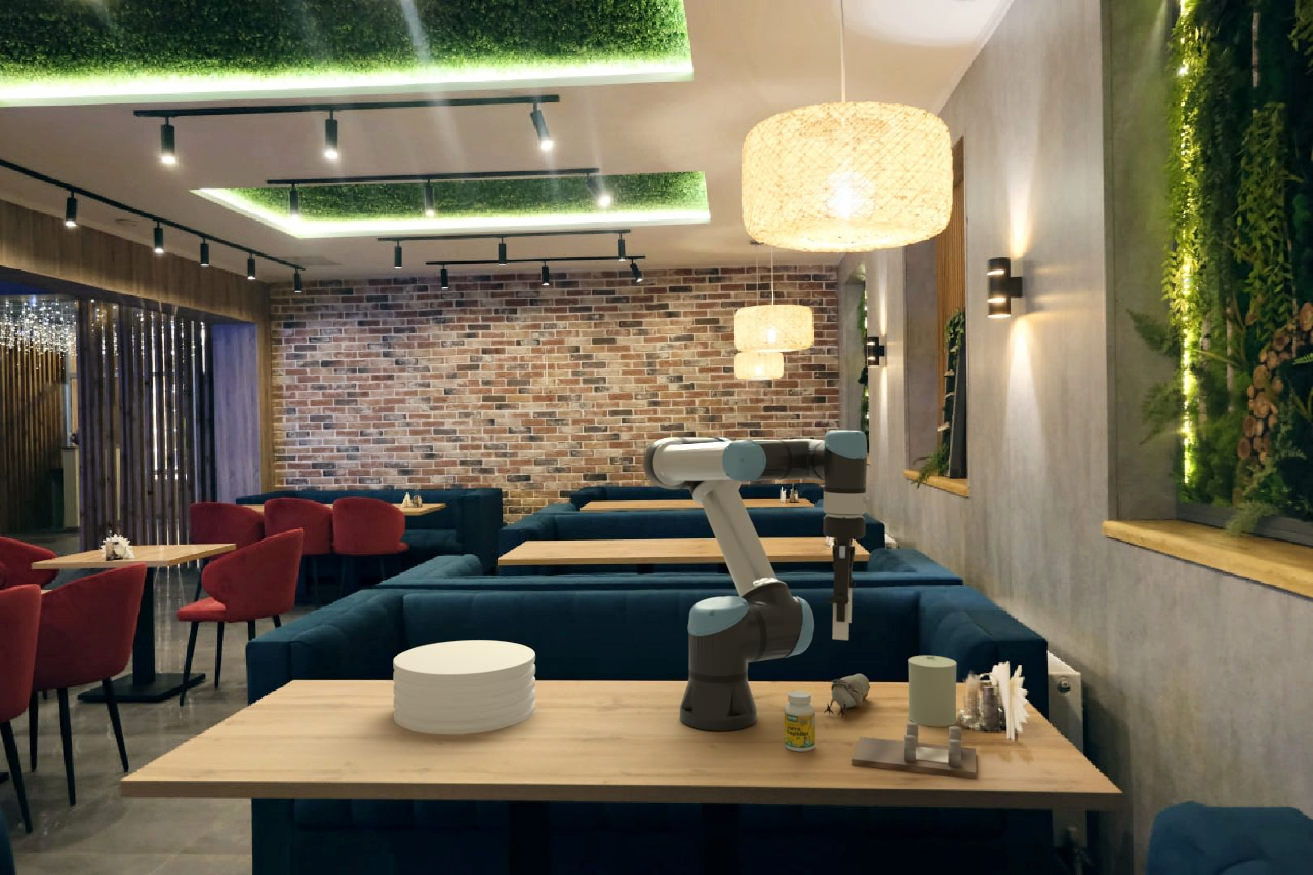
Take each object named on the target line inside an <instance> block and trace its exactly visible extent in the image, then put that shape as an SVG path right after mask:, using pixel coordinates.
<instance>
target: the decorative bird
mask: <svg viewBox="0 0 1313 875" xmlns="http://www.w3.org/2000/svg"><path fill="white" fill-rule="evenodd" d="M829 683H831V687H830V688H831V697H832V698H831V700H830V704H829V703H828V702H827V708H826V709H825V711H824V712H823V713H824V714H825V713H827V712H828V713H829V714H828V716H831V713H832V715H833V716H834V715H835V714H834V712H833V710H832V709H831V707H832V706H833V703H834V702H835V703H836V704H837V705H838V706H839V707H840V710H839V712H838V713H837V716H839V715H840V714H841V716H842V718H844V715H845V718H848V717H847V714H846V712H845V711H844V710H845V708H846V709H847V708H852V707H855V706H859V705H861V703H862V702H863V700H866V699H867V697H868V695H869V691H870V688H871V686H870V681H869V679H868V678H867V676H865V675H864V674H862V673H856V674H854V675H848V676H844V677H841V678H836V679H833V680H830V681H829Z"/></svg>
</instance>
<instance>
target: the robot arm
mask: <svg viewBox="0 0 1313 875" xmlns="http://www.w3.org/2000/svg"><path fill="white" fill-rule="evenodd" d="M867 443H868V442H867V436H866V434H865V433H864V432H863V431H861V430H829V431H827V432H826V433H825V436H824V440H820V439H812V438H806V437H805V438H793V439H739V440H731V439H729V438H725V437H718V436H714V435H713V436H712V435H711V436H706V437H666V438H662V439H659V440H656V441H655V442H653V443H652V444H650V445H649V447H647V449H646V450H645V452H644V454H643V458H642V468H643V473H644V475H645V476H646V478H647V479H648V480H649V481H650V482H651V484H654V485H656V486H657V487H660V488H663V489H668V490H689V493H690V496H691V497H692V500H693V501H694V502H695V504H698V505H700V506H702V507H703V509H704V512H705V515H706V518H707V519H708V522H709V525H710V527H711V529H712V532H713V534H714V537H715V539H716V542H717V543H718V545H719V546H718V547H719V548H720V551H721V554H722V556H723V559H724V562H725V564H726V566H727V569H728V572H729V574H730V577H731V579H732V581H733V583H734V586H735V589H736V591H737V593H738V596H736V595H735V596H734V595H725V596H715V597H709V598H706V599H702V600H700V601H698V602H696V603H694V604H693V605H692V607H691V608H690V610H689V613H688V624H687V632H688V679H687V684H686V686H685V690H684V693H683V697H682V700H681V702H680V705H679V720H680V721H681V722H682V723H683V724H684V725H686V726H688V727H691V728H694V729H699V730H706V731H719V732H720V731H722V732H723V731H734V730H735V731H736V730H741V729H745V728H748V727H749V728H750V727H751V726H753V725H754V724H755V723H756V722H757V720H758V719H757V718H758V716H757V715H758V713H757V712H758V709H757V705H756V702H755V698H754V696H753V694H752V689H751V687H750V683H749V674H748V673H749V672H748V670H749V663H753V662H760V661H766V660H767V661H768V660H775V659H786V658H789V657H793V656H797V655H800V654H802V653H803V652H804V651H806V650H807V648H809V646H810V644H811V642H812V639H813V635H814V634H813V633H814V629H815V624H814V615H813V610H812V609H811V606H810V604H809V603H808V601H806V600H805V599H803V597H799V596H798V595H796V596H793V595H792V592H791V591H790V588H789V586H788V584H787V583H786V582H784V581H781V580H778V579H777V576H776V574H775V572H774V570H773V568H772V565H771V562H770V561H769V557H768V556H767V553H766V552H765V549H764V547H763V545H762V542H761V540H760V537H759V535H758V533H757V531H756V528H755V526H754V523H753V521H752V519H751V517H750V515H749V512H748V510H747V508H746V506H745V503H744V501H743V498H742V496H741V494H740V491H739V490H740V488H741V485H742V483H743V482H756V481H757V482H758V481H771V480H772V481H773V480H774V481H775V480H777V481H778V480H784V481H785V480H806V479H807V480H820V481H821V480H822V481H824V486H823V488H824V489H823V512H824V513H825V514H826V515H825V516H824V517H823V530H822V531H823V535H824V536H825V537H828V538H831V539H832V538H835V539H836V545H835V544H834V545H833V547H832V558H833V559H832V560H833V561H832V568H833V570H834V572H833V574H834V575H833V593H832V594H833V595H832V597H829V599H828V600H829V602H828V603H830V604H832V640H837V641H839V640H840V641H849V628H850V627H849V624H852V622H853V620H852V619H853V588H856V587H857V582H856V581H854V578H853V566H854V564H855V556H856V546H855V545H853V542H854V539H862V538H864V537H865V536H866V518H865V517H864V516H862V515H864V514H866V509H867V508H866V504H867V503H869V502H870V498H869V497H865V496H866V495H867V466H868V464H867V463H868V456H869V454H868V453H869V452H868V444H867Z"/></svg>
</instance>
